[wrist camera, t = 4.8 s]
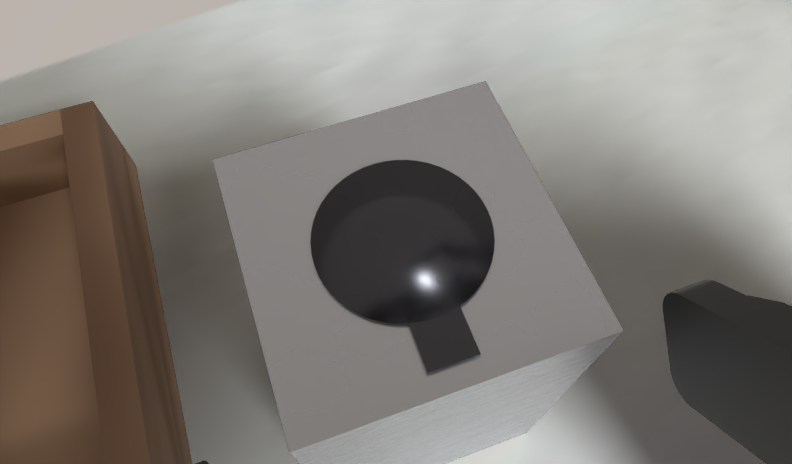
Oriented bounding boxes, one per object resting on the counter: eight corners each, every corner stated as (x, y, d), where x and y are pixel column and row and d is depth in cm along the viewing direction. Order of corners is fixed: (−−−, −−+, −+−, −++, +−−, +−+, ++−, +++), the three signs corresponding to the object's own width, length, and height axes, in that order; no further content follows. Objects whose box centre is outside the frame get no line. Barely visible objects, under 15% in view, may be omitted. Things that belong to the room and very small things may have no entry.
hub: (453, 267, 20) (486, 77, 12) (526, 433, 18) (625, 328, 10) (289, 322, 20) (210, 156, 12) (341, 503, 17) (287, 452, 9)
